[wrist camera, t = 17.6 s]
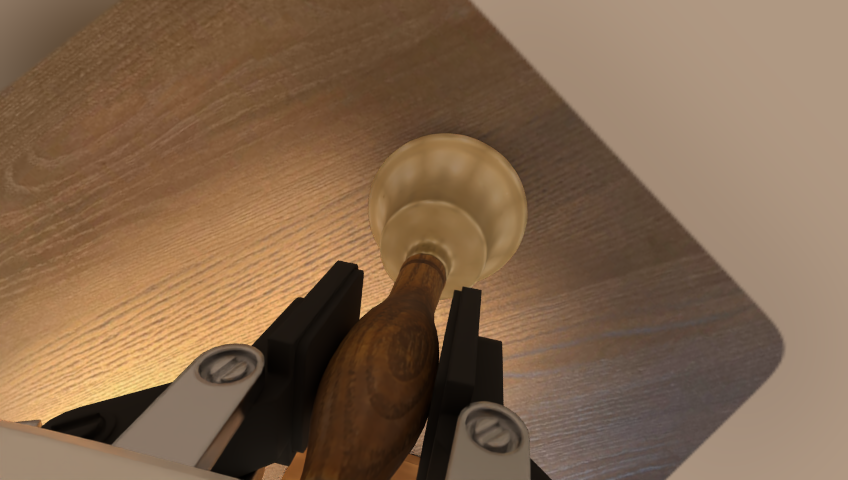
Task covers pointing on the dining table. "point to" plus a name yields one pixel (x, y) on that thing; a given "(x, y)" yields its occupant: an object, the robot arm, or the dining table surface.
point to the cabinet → (403, 476)
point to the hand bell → (412, 299)
